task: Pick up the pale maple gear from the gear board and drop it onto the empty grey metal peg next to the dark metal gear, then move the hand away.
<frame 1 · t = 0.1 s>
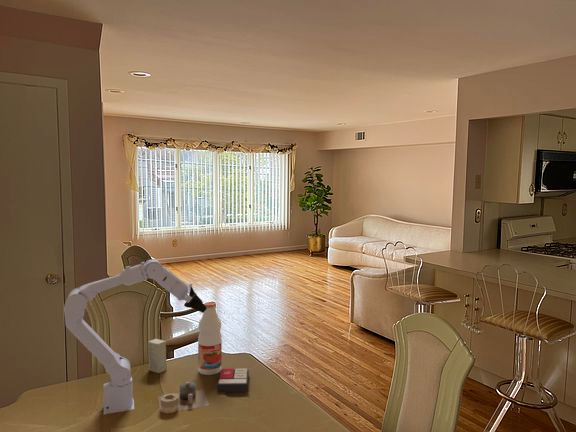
hand: (203, 307, 155), 32 cm above the table, tool tilted 50°, fingers open, 7 cm apart
gear board: (183, 402, 150), on the table
fruit juice: (209, 371, 177), on the table
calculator: (233, 385, 165), on the table
maple gear: (169, 408, 145), point 1 cm above the table, touching gear board
skincare box: (157, 370, 177), on the table
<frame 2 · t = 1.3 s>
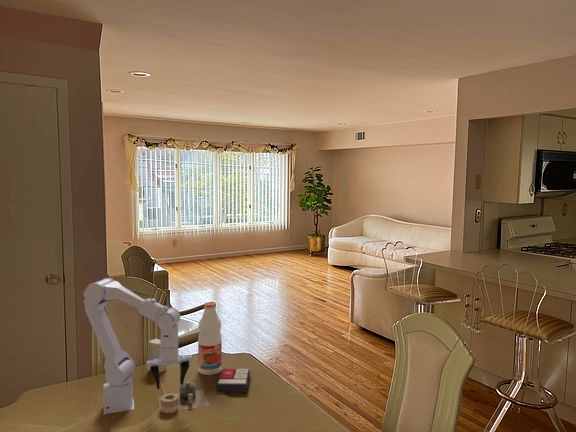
hand: (170, 385, 144), 9 cm above the table, tool pointing down, fingers open, 7 cm apart
nothing on the table moved.
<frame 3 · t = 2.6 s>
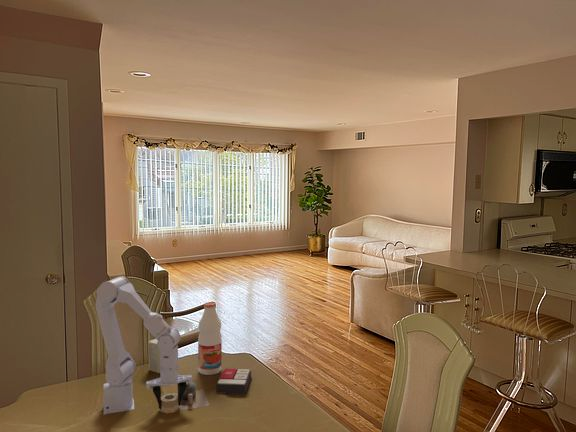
hand: (169, 406, 145), 2 cm above the table, tool pointing down, fingers closed on maple gear, 5 cm apart
maple gear: (169, 408, 145), point 1 cm above the table, touching gear board, gripper
everything else where it was.
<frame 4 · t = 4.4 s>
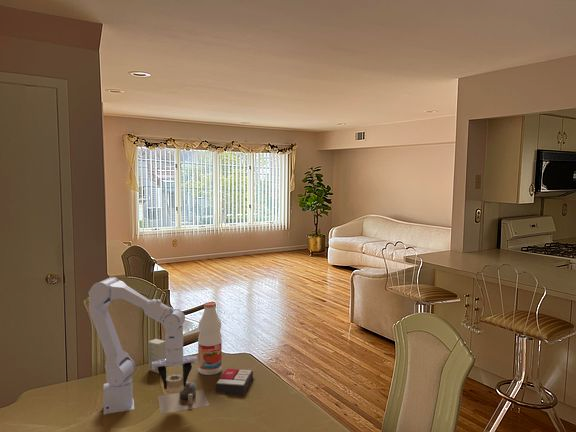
hand: (174, 386, 145), 8 cm above the table, tool pointing down, fingers closed on maple gear, 5 cm apart
maple gear: (174, 389, 145), point 7 cm above the table, touching gripper
when the fingers open (3 cm above the table, at t = 6.6 s): maple gear drops 1 cm, resting on gear board.
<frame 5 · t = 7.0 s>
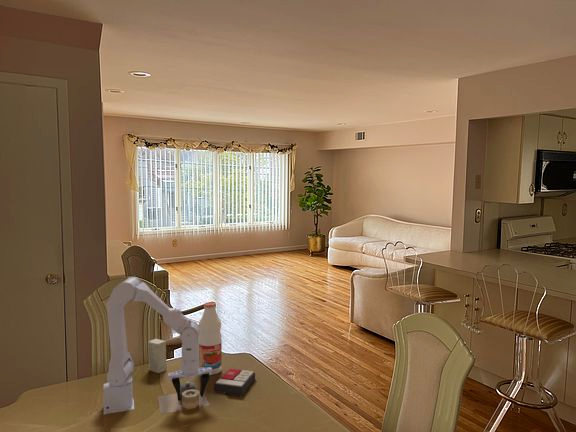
hand: (190, 397, 148), 3 cm above the table, tool pointing down, fingers open, 7 cm apart
maple gear: (190, 404, 148), point 1 cm above the table, touching gear board
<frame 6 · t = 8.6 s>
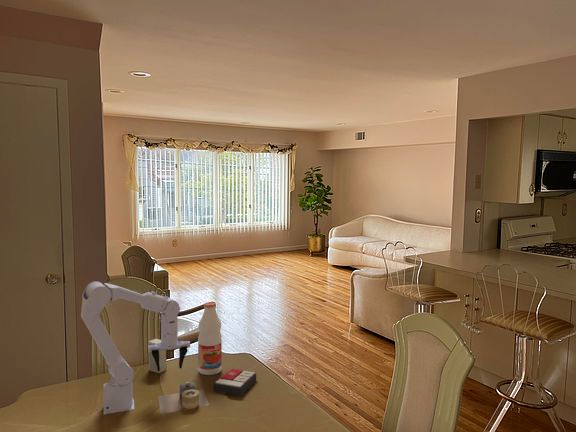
hand: (169, 368, 156), 9 cm above the table, tool pointing down, fingers open, 7 cm apart
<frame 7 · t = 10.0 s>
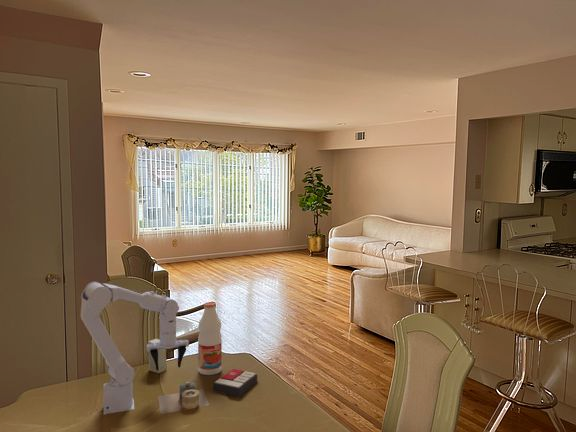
hand: (168, 367, 157), 9 cm above the table, tool pointing down, fingers open, 7 cm apart
at the end: maple gear 0.0 cm from the target spot on the gear board, point 0.6 cm above the gear board's base; maple gear tilted 0°; the gripper is holding nothing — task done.
